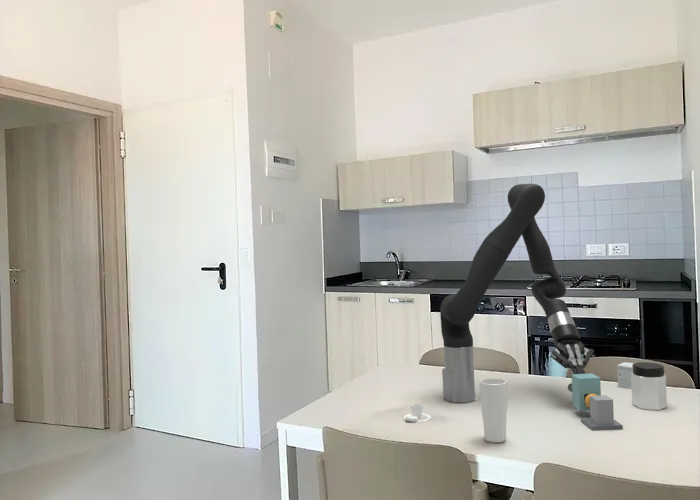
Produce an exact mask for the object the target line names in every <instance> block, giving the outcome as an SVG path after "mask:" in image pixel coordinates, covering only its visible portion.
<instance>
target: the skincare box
mask: <svg viewBox="0 0 700 500" xmlns="http://www.w3.org/2000/svg"><path fill="white" fill-rule="evenodd" d="M634 363H635V362H626V361H624V362H621V363H618V364H617V365H616V367H617V371H616V372H617V387H619V388H624V389H629V390H632V385H631V373H633V366H632V365H633V364H634Z"/></svg>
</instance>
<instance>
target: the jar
mask: <svg viewBox="0 0 700 500" xmlns="http://www.w3.org/2000/svg"><path fill="white" fill-rule="evenodd" d="M633 363H634V364H633V365H632V366H633V373H631V385H632V389H631V404H632V405H633V406H634V407H636V406H637V408H639V409H640V410H648V411H649V410H650V411H662V410H663V408H664V409H666V408H667V407H668V400H667V399H668V398H667V397H668V395H667V375H666V374H665V367H664V365H663V364H660V363H657V362H643V361H642V362H641V361H640V362H633Z"/></svg>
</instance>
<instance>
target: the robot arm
mask: <svg viewBox="0 0 700 500" xmlns="http://www.w3.org/2000/svg"><path fill="white" fill-rule="evenodd" d="M545 199H546V194H545V190H544V188H543V187H542V186H541V185H539V184H537V183H519V184H515V185H513V186H512V187H510V189H509V190H508V193H507V202H508V206H509V208H510V212H509V213H508V214H507V216H506V217H505V218H504V219H503V220H502V222H501V223H500V224H499V225H497V226H496V227H495V228H494V229H492V231H490V232H489V233H488V235H486V236H485V238H484V239H483V241H482V243H481V244H480V245H479V247H478V249H477V251H476V252H475V254H474V256H473V259H472V260H471V261H472V262H471V265H470V268H469V272H468V275H467V276H466V279H465V281H464V283H463V284H462V286H461V287H460V288H459V290H458V291H457V293H455V294H449V295H447V296H445V297H444V298H443V300H442V301H441V304H440V308H439V309H440V311H439V312H440V313H439V314H440V315H439V316H440V330H441V335H442V341H443V356H444V357H443V358H444V363H443V364H444V368H442V370H441V371H442V372H441V374H442V375H441V377H442V397H443V399H444V400H447V401H448V402H450V403H453V404H454V403H471V402H474V401H475V400H476V386H475V385H476V384H475V383H476V382H475V363H474V361H475V360H474V359H475V357H474V340H473V338H474V337H473V335H472V333H471V330H470V329H471V328H470V322H471V321H472V320H473V318H474V316H475V314H476V312H477V310H478V308H479V307H480V304H481V302H482V300H483V298H484V296H485V294H486V292H487V290H488V289H489V287H490V286H491V285H492V283H493V281H494V280H495V278H496V277H497V275H498V273H499V272H500V270H501V269H503V266H504V265H505V263H506V261H507V260H508V258H509V256H510V254H511V253H512V252H513V249H514V248H515V246H516V245H517V243H518V242H519V240H520V238H521V237H522V239H523V242H524V244H525V248H526V249H525V250H526V251H527V255H528V259H529V263H530V267H531V270H532V272H533V274H535V275H549V276H550V277H548V278H545V279H540V280H537V281H534V282H533V283H532V285H531V293H532V296H533V297H534V299H535V301H536V302H537V303H538V304H539V305H540V307H541V308H542V309H543V312H544V314H545V316H546V320H547V323H548V328H549V332H550V335H551V336H552V339H553V342H554V345H555V349H553V350H552V351H551V353H550V358H551V359H552V360H554V361H555V362H556V363H558V364H559V365H560V366H562V367H563V368H564V369H570V370H571V371H572V374H586V371H585V368H587V365H588V363H589V361H590V359H591V357H592V355H593V353H594V349H593V348H587V347H585V344H584V343H583V342H582V340H581V335H580V334H579V331H578V328H577V327H576V323H575V321H574V319H573V317H572V315H571V312H570V310H569V307H568V305H567V303H566V302H565V301H564V300H563V299H562V298H563V297H565V295H566V293H567V287H566V284H565V282H564V281H563V279H562V278H561V276H560V275H559V273H558V271H557V268H556V267H555V266H556V265H555V263H554V259H553V255H552V252H551V249H550V248H551V247H550V245H549V244H548V241H547V239H546V238H545V236H544V234H543V233H542V231H541V229H540V228H539V224H538V223H537V221H536V218H535V216H537V214H538V213H539V212H540V210H541V209H542V207H543V206H544V203H545ZM560 298H561V299H560ZM583 353H584V354H583ZM582 355H584V357H585V358H584V359H583V360H582Z"/></svg>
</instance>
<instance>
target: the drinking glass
mask: <svg viewBox="0 0 700 500" xmlns="http://www.w3.org/2000/svg"><path fill="white" fill-rule="evenodd" d="M507 382H508V381H507V380H506V379H503V378H498V377H486V378H481V379H480V380H479V398H480V399H479V400H480V407H481V415H482V423H483V424H482V425H483V434H484V435H483V436H484V439H485V440H486V441H487V442H489V443H493V444H501V443H504V442H505V441H506V440H507V418H508V417H507V415H508V383H507Z"/></svg>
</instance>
